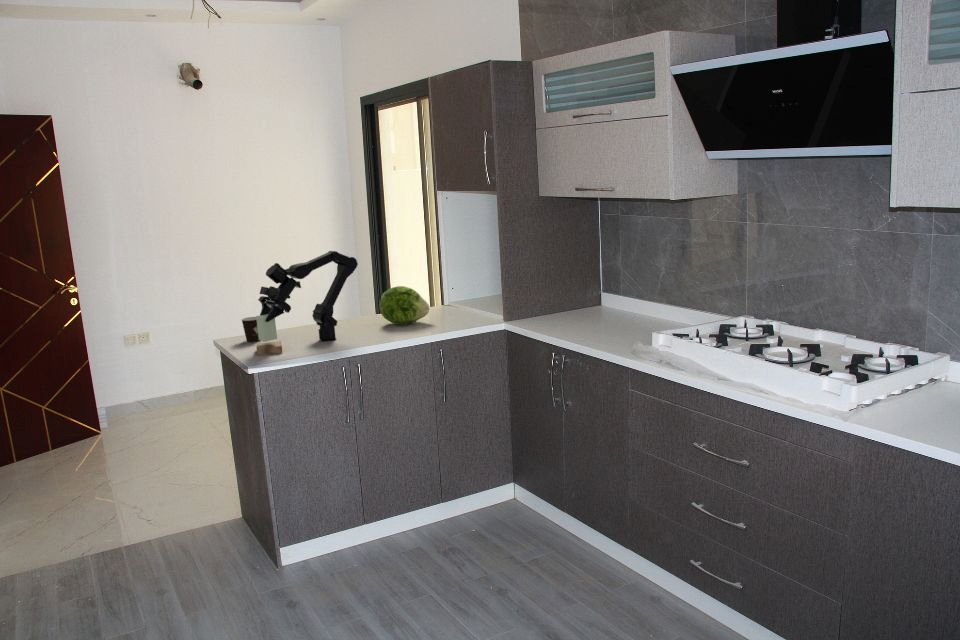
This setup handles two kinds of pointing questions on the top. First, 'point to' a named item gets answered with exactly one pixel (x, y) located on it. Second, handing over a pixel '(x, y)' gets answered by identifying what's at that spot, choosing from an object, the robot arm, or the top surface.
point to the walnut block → (269, 348)
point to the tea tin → (266, 328)
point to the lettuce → (403, 305)
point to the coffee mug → (250, 329)
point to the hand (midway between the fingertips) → (262, 320)
